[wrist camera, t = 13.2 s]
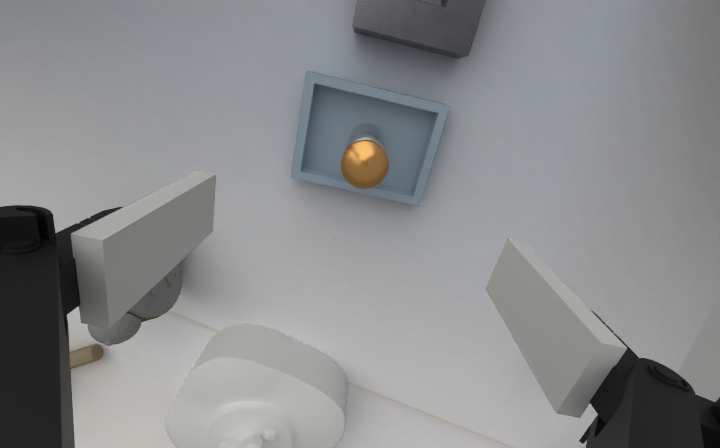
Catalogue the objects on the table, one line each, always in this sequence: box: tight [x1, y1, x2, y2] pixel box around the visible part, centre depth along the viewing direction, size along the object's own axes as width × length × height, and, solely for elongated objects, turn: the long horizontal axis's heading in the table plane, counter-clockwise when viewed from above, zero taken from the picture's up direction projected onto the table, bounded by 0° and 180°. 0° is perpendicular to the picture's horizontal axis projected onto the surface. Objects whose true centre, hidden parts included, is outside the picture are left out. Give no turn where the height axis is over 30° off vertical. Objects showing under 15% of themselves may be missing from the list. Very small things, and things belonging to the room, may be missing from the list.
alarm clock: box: [88, 263, 182, 346], centre depth 41 cm, size 12×7×15 cm, turn 19°
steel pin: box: [341, 123, 389, 189], centre depth 35 cm, size 4×4×14 cm
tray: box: [291, 71, 450, 206], centre depth 40 cm, size 16×12×3 cm
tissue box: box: [165, 324, 348, 448], centre depth 51 cm, size 25×25×16 cm
